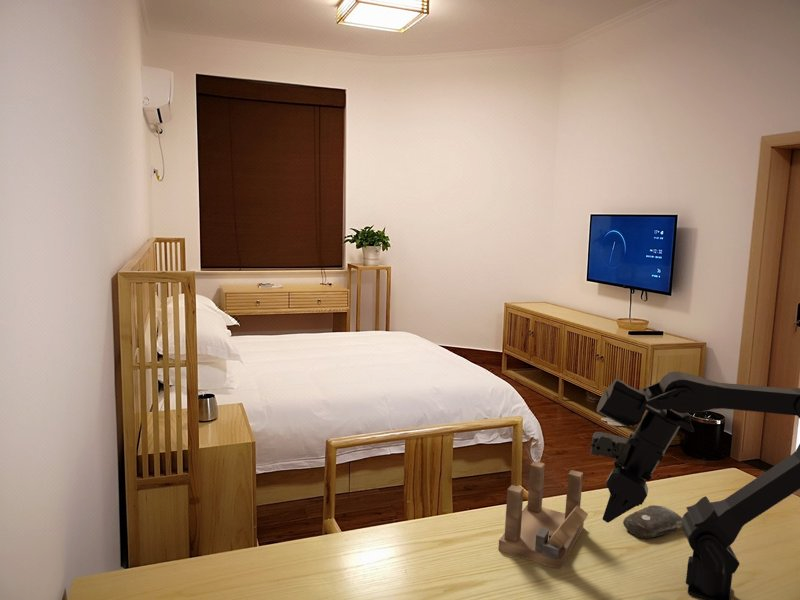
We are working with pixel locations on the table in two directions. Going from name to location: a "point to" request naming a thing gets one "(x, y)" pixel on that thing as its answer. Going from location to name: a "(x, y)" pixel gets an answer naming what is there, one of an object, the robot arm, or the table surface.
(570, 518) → the folding leg
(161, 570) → the table surface
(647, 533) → the stone
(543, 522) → the stool seat
